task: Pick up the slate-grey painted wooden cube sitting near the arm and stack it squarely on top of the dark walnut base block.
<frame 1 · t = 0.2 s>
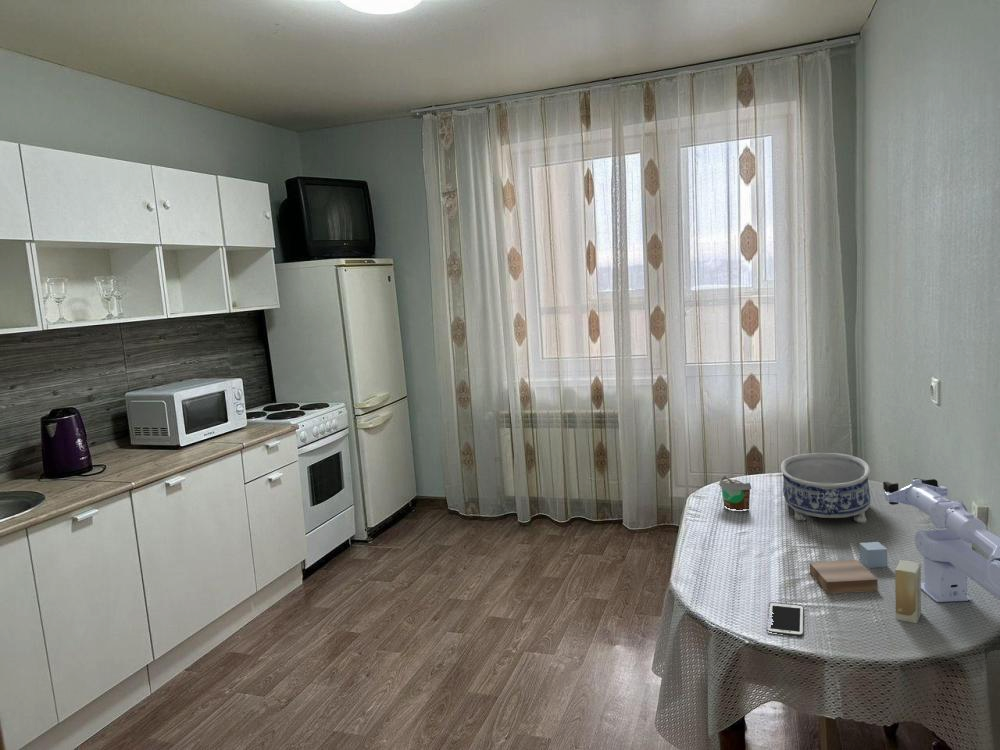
hand: (899, 483, 185), 21 cm above the table, tool horizontal, fingers open, 7 cm apart
skincare box: (908, 617, 159), on the table
food container: (732, 509, 238), on the table
walnut base: (842, 581, 178), on the table
slate cube: (873, 563, 187), on the table
decorative bowl: (825, 509, 230), on the table
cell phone: (785, 622, 162), on the table
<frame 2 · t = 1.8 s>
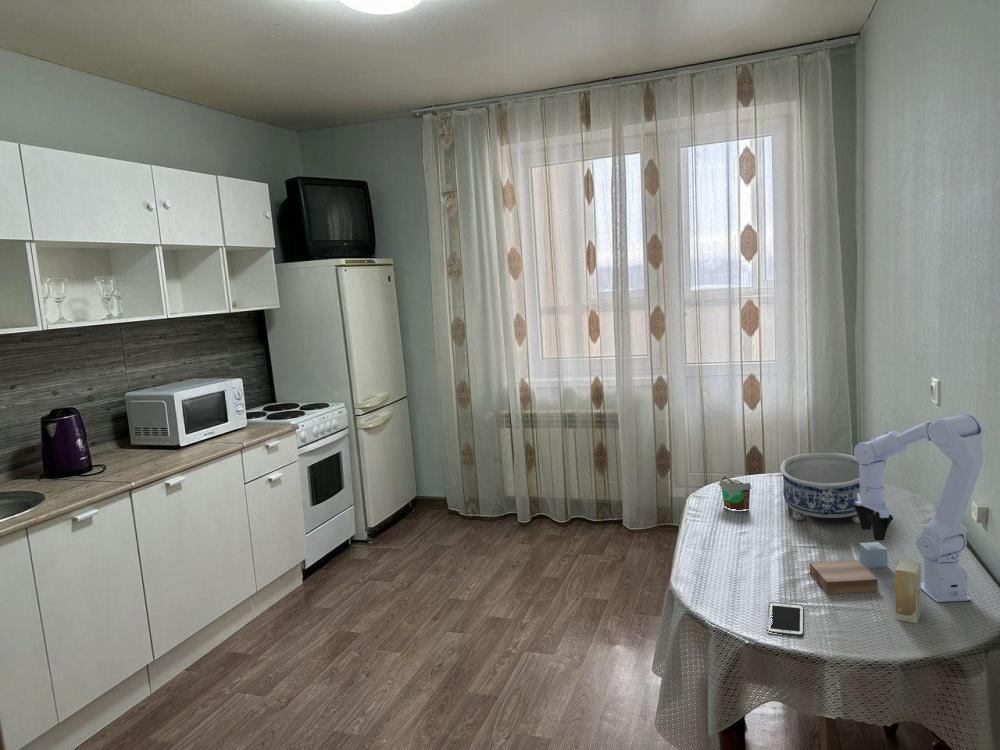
hand: (872, 534, 186), 8 cm above the table, tool pointing down, fingers open, 7 cm apart
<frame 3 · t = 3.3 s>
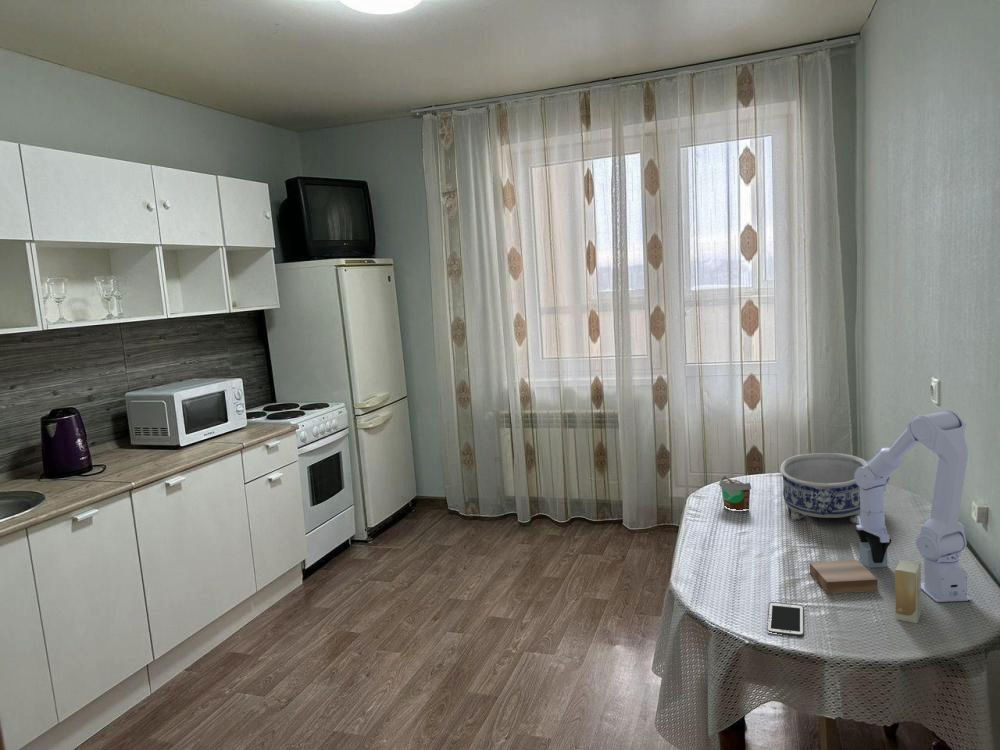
hand: (873, 558, 187), 1 cm above the table, tool pointing down, fingers closed on slate cube, 5 cm apart
slate cube: (873, 563, 187), on the table, touching gripper
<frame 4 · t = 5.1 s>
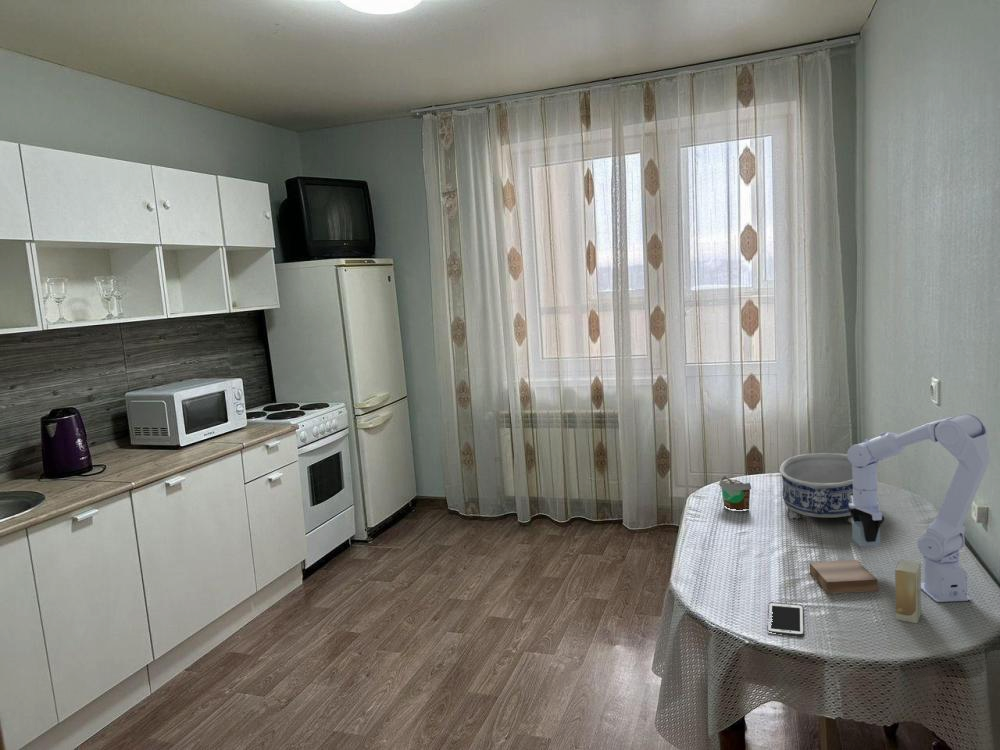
hand: (866, 537, 184), 8 cm above the table, tool pointing down, fingers closed on slate cube, 5 cm apart
slate cube: (866, 542, 184), point 7 cm above the table, touching gripper
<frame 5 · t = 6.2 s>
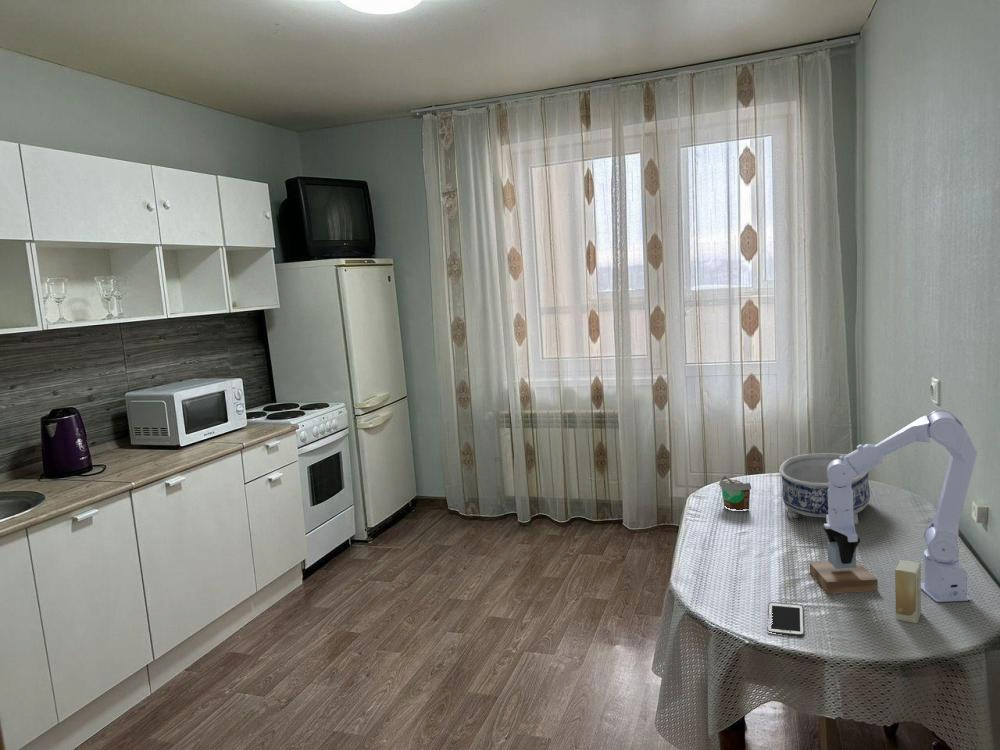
hand: (841, 558, 177), 6 cm above the table, tool pointing down, fingers closed on slate cube, 5 cm apart
slate cube: (841, 564, 178), point 5 cm above the table, touching gripper
when the fingers open (6 cm above the table, at t = 7.2 s): slate cube drops 1 cm, resting on walnut base.
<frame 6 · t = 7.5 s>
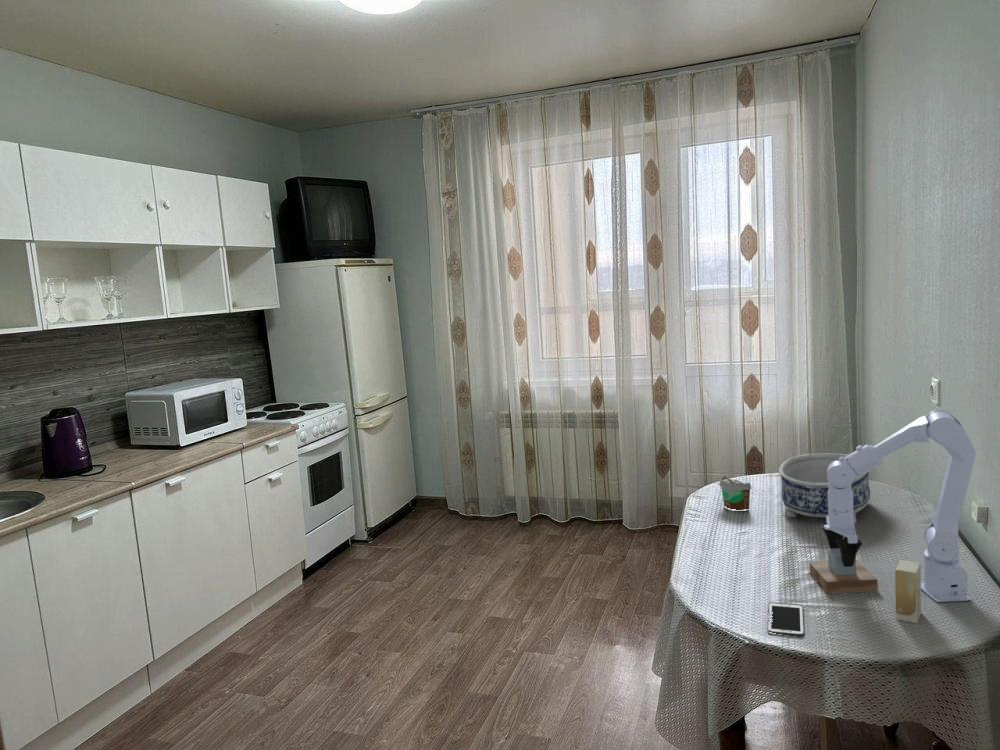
hand: (842, 559, 178), 6 cm above the table, tool pointing down, fingers open, 7 cm apart
slate cube: (842, 570, 178), point 3 cm above the table, touching walnut base
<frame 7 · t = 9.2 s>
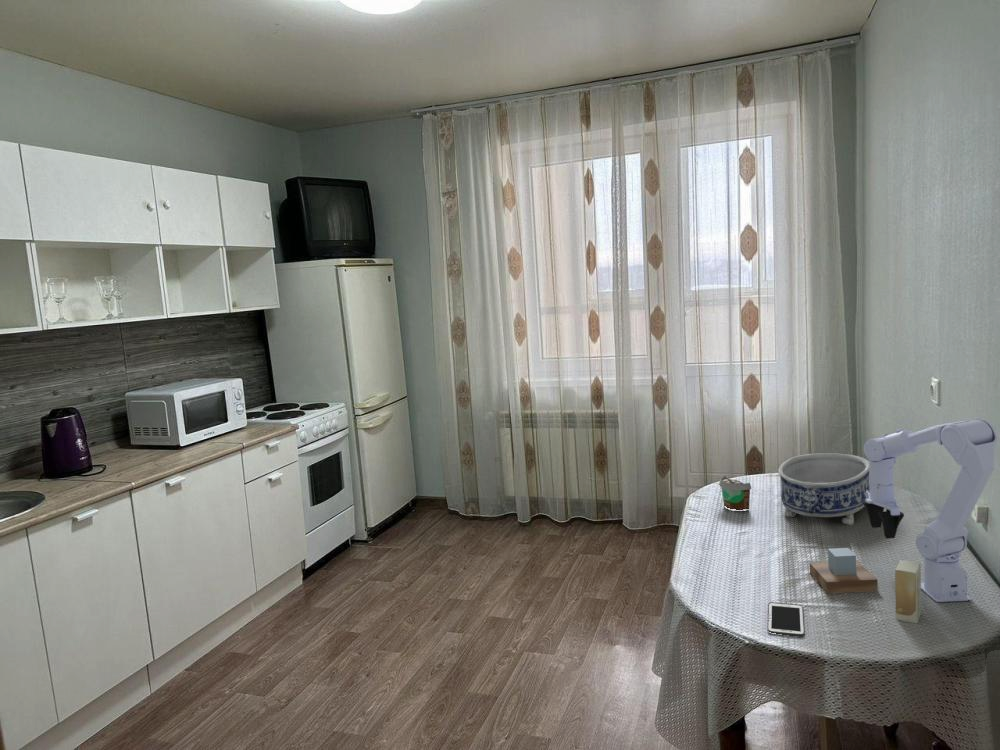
hand: (882, 532, 184), 9 cm above the table, tool pointing down, fingers open, 7 cm apart
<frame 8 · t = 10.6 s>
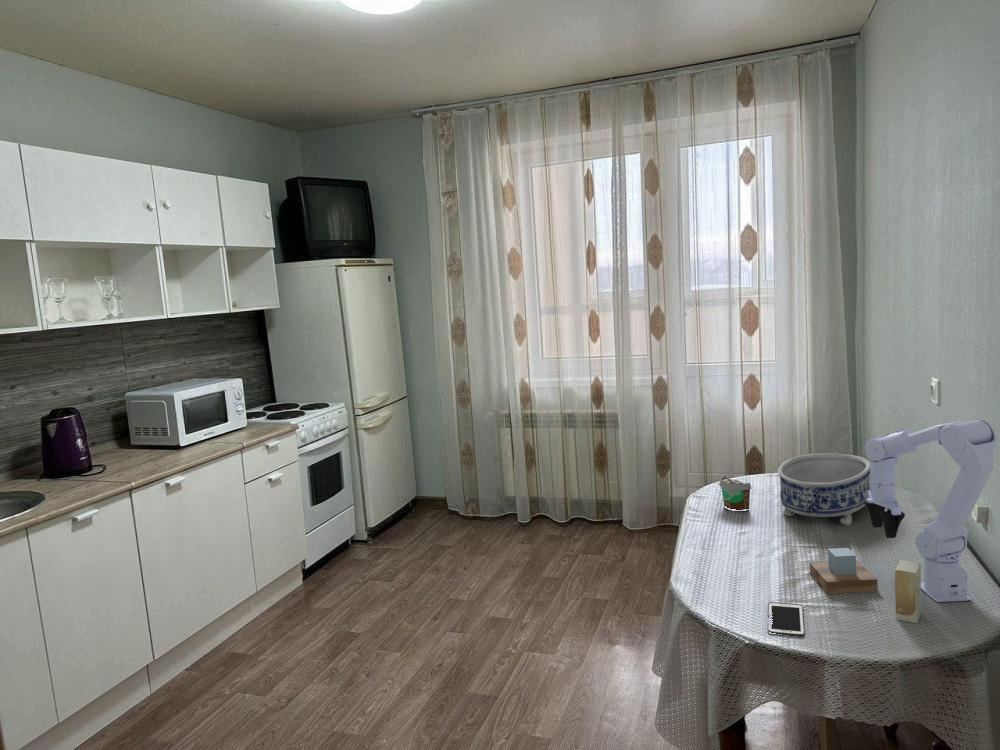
hand: (884, 532, 184), 9 cm above the table, tool pointing down, fingers open, 7 cm apart
at the end: slate cube 0.1 cm off-centre on the walnut base, point 3.0 cm above the walnut base's base; slate cube tilted 0°; the gripper is holding nothing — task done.
